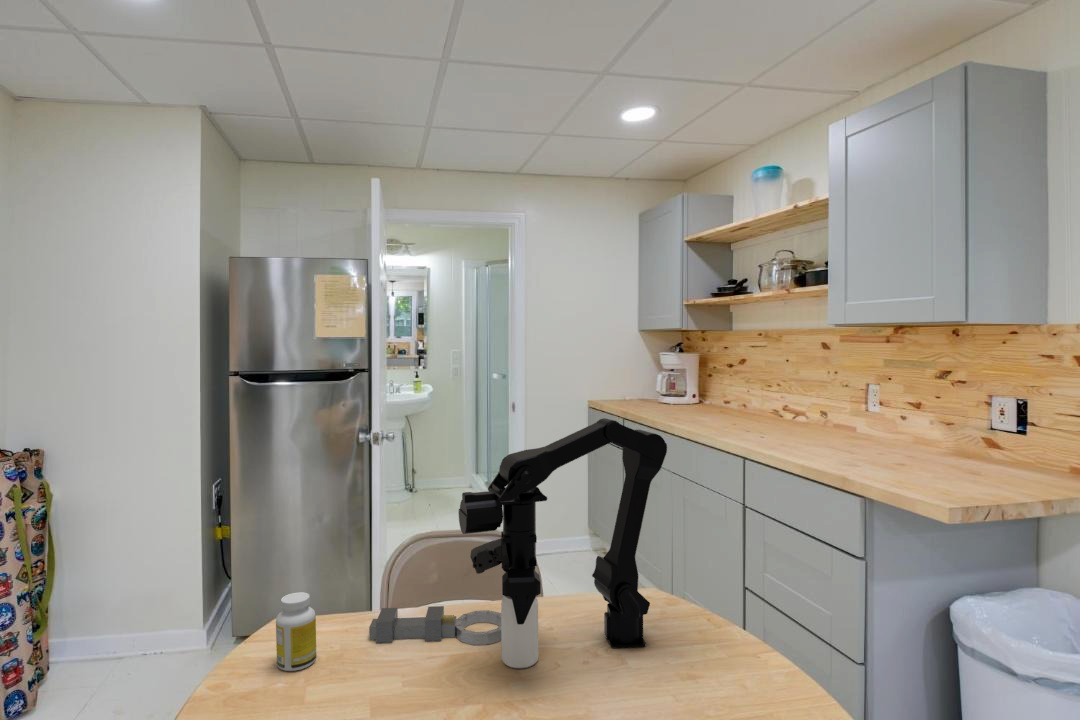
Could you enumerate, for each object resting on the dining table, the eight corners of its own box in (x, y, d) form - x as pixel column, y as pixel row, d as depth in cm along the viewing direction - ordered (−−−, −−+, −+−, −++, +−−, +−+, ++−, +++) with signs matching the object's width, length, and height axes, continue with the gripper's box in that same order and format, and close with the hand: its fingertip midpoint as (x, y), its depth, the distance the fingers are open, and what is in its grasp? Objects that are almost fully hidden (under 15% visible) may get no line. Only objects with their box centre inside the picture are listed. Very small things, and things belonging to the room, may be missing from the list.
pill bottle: (324, 658, 108) (323, 593, 108) (296, 676, 102) (294, 608, 102) (297, 650, 111) (296, 587, 111) (268, 667, 105) (267, 601, 105)
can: (540, 651, 110) (539, 586, 110) (536, 670, 104) (536, 601, 103) (504, 650, 111) (504, 584, 111) (498, 669, 104) (498, 599, 104)
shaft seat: (507, 619, 123) (507, 599, 123) (508, 643, 113) (507, 622, 113) (376, 623, 121) (376, 604, 121) (365, 649, 111) (365, 627, 111)
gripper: (475, 513, 115) (475, 594, 116) (470, 546, 97) (471, 643, 97) (533, 512, 116) (534, 592, 117) (540, 544, 98) (541, 640, 98)
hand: (519, 615), depth 107 cm, fingers closed on can, 6 cm apart
